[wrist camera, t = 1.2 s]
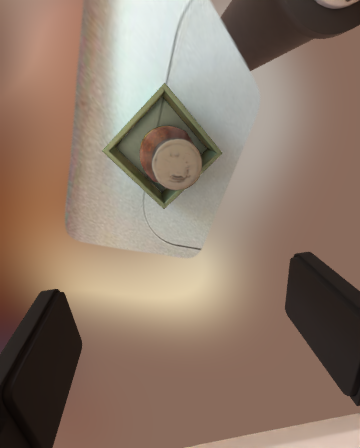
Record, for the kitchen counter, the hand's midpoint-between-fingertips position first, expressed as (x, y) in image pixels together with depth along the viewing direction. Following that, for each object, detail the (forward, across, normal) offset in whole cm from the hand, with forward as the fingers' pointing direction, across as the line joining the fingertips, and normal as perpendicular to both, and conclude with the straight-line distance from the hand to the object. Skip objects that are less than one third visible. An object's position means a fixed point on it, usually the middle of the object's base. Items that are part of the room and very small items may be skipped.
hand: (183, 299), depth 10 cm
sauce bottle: (+31, -1, -3) cm, 31 cm away
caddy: (+31, -1, -3) cm, 31 cm away
